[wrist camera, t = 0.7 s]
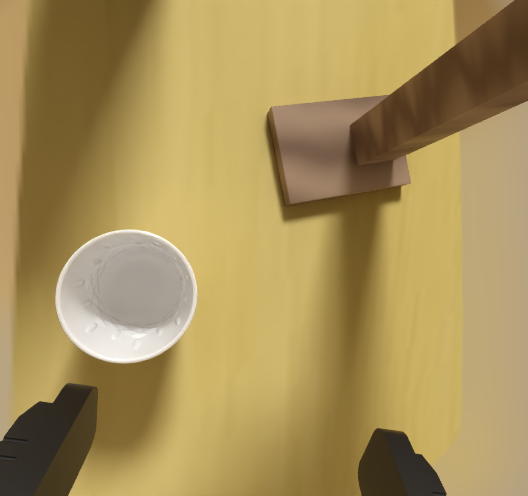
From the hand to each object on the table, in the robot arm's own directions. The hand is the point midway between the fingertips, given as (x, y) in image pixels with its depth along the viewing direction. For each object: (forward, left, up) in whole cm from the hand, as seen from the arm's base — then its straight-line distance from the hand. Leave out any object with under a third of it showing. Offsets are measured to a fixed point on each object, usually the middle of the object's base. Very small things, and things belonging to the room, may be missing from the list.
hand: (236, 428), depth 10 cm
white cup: (-3, -4, -22) cm, 23 cm away
